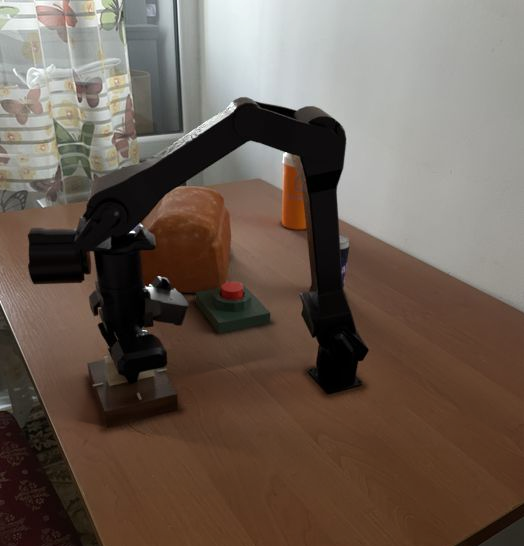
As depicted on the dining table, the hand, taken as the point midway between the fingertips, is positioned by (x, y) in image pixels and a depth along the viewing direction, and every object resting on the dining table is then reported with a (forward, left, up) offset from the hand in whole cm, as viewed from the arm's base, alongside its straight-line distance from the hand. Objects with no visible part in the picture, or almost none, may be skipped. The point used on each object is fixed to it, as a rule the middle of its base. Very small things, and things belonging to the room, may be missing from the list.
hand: (130, 377), depth 79 cm
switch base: (0, 0, -3) cm, 3 cm away
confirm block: (+17, -23, -3) cm, 29 cm away
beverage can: (+17, -44, -3) cm, 47 cm away
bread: (+38, -22, -3) cm, 44 cm away
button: (+17, -23, 0) cm, 29 cm away
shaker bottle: (+53, -56, -3) cm, 77 cm away
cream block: (0, 0, 0) cm, 0 cm away
